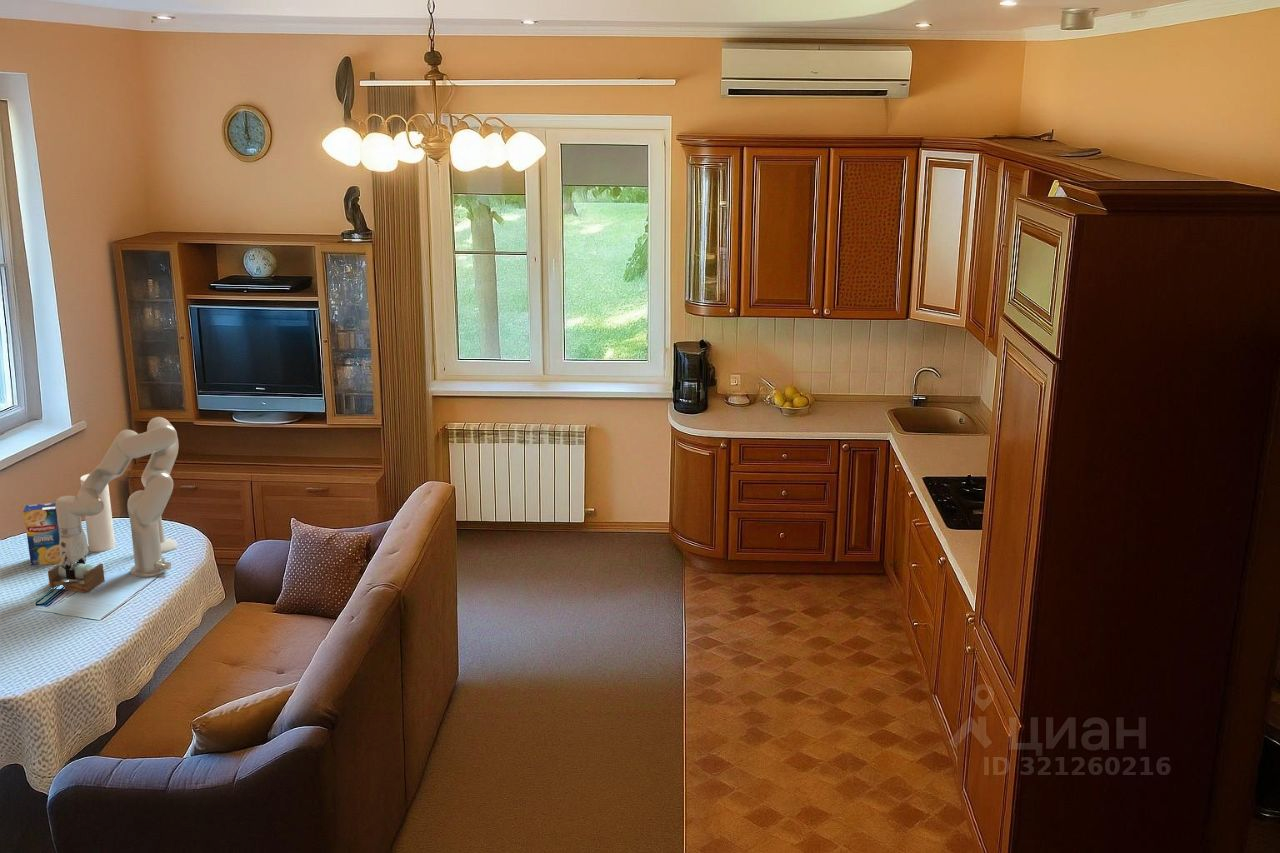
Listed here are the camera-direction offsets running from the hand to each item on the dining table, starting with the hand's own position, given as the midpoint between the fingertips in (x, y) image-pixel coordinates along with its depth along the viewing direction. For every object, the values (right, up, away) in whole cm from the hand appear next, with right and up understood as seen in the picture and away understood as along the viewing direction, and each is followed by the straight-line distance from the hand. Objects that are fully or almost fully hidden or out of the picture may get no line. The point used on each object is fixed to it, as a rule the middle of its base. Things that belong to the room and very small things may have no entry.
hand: (76, 575), depth 408 cm
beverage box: (-21, +3, +21) cm, 30 cm away
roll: (0, -1, 0) cm, 1 cm away
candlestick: (+15, +6, +36) cm, 40 cm away
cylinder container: (-7, +6, +34) cm, 35 cm away
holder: (0, -4, +1) cm, 4 cm away
